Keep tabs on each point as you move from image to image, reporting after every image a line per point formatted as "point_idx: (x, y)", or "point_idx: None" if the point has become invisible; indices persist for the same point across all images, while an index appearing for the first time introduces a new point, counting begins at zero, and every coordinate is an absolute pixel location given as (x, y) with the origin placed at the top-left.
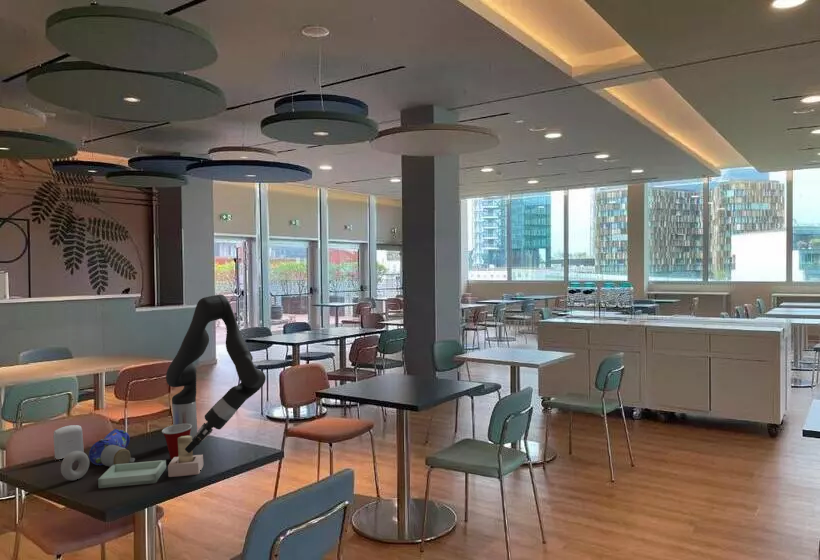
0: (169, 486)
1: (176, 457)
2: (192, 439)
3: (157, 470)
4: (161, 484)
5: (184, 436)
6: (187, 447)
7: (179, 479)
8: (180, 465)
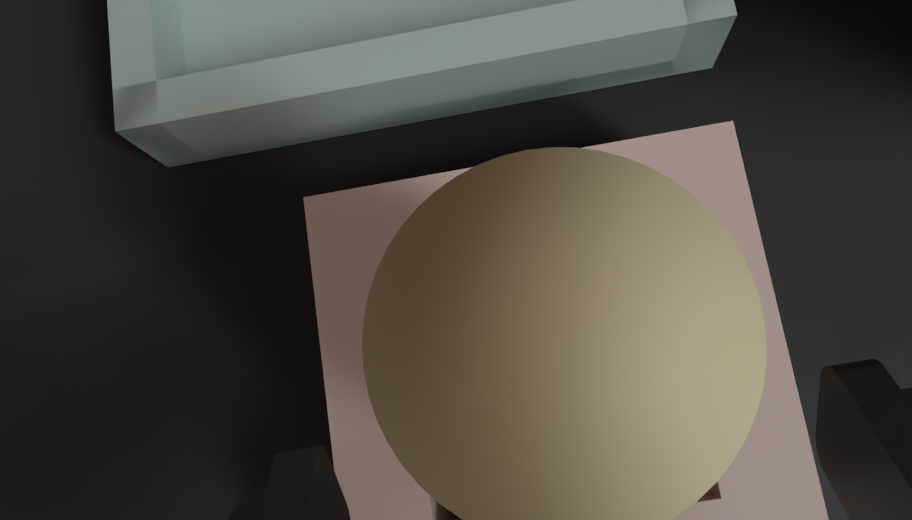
0: (11, 376)
1: (704, 169)
2: (870, 440)
3: (256, 97)
4: (102, 254)
5: (678, 285)
6: (271, 510)
7: (233, 409)
8: (326, 372)
